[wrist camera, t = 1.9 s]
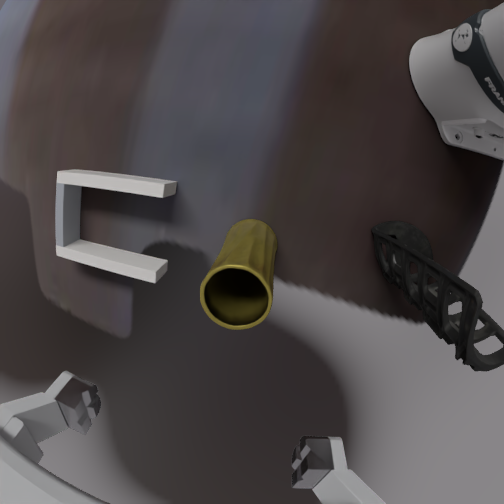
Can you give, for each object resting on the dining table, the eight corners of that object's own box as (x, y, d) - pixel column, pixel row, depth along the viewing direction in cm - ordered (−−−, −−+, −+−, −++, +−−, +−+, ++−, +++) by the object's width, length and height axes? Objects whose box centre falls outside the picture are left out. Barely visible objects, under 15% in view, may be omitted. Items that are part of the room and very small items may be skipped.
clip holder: (177, 181, 31) (164, 184, 28) (167, 271, 35) (155, 283, 31) (75, 169, 32) (57, 171, 28) (73, 247, 35) (56, 255, 31)
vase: (246, 208, 32) (224, 240, 18) (287, 240, 32) (297, 293, 19) (215, 248, 33) (178, 303, 20) (256, 278, 34) (244, 348, 21)
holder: (442, 240, 31) (546, 306, 12) (419, 290, 33) (501, 381, 14) (378, 209, 30) (488, 266, 11) (354, 265, 33) (427, 372, 14)
